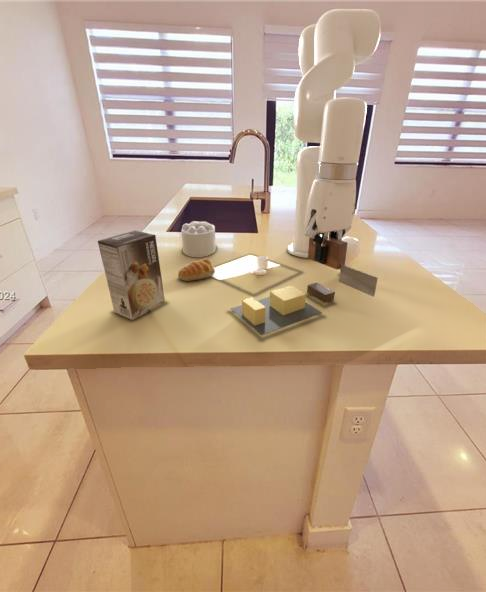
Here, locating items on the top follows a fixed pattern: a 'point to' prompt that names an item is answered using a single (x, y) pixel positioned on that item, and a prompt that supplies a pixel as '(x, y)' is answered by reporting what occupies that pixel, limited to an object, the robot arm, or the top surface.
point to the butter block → (287, 300)
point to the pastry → (197, 270)
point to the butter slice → (253, 311)
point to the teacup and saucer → (261, 265)
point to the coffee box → (132, 272)
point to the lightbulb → (351, 250)
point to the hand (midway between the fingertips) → (325, 260)
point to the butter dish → (277, 317)
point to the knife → (347, 274)
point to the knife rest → (320, 292)
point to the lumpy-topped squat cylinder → (198, 239)
